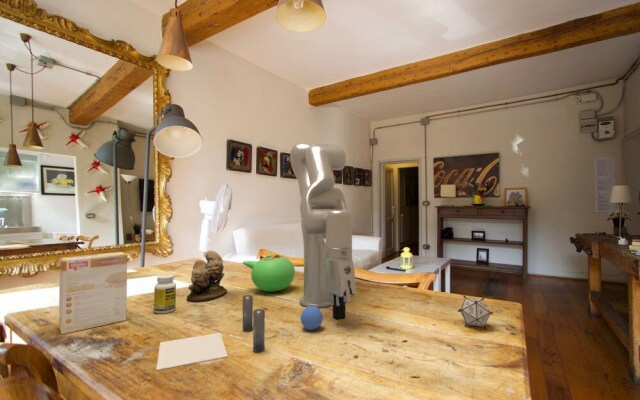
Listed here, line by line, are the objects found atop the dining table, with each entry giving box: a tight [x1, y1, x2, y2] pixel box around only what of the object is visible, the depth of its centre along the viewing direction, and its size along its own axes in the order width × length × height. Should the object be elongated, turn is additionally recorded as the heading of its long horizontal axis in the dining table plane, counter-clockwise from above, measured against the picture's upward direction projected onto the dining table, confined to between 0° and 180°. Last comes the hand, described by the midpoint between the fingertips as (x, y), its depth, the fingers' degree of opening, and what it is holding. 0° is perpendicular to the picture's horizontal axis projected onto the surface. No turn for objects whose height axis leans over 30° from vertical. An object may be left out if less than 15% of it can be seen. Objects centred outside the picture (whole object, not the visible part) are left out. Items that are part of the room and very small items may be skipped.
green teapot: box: [242, 252, 296, 293], centre depth 124 cm, size 18×17×15 cm
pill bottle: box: [153, 274, 177, 315], centre depth 99 cm, size 6×6×11 cm
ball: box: [300, 306, 324, 331], centre depth 84 cm, size 6×6×6 cm
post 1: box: [242, 294, 254, 333], centre depth 84 cm, size 3×3×9 cm
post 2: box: [252, 308, 266, 354], centre depth 72 cm, size 3×3×9 cm
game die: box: [457, 295, 494, 330], centre depth 86 cm, size 9×8×10 cm
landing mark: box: [155, 332, 229, 371], centre depth 72 cm, size 14×14×1 cm
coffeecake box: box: [58, 251, 128, 335], centre depth 88 cm, size 15×7×20 cm, turn 134°
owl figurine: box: [186, 250, 227, 304], centre depth 117 cm, size 18×12×17 cm, turn 166°
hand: (339, 318), depth 88 cm, fingers closed
